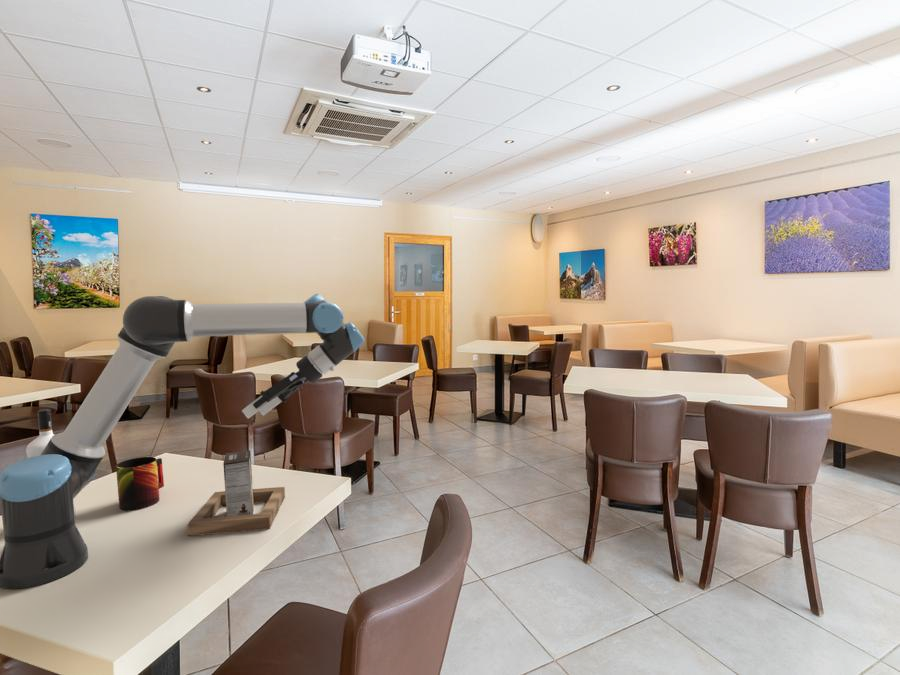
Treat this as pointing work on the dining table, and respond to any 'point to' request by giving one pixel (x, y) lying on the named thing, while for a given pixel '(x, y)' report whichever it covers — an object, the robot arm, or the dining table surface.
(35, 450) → the vodka
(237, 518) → the block
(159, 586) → the dining table surface
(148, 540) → the dining table surface
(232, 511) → the coffee box
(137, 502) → the mug
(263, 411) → the robot arm
